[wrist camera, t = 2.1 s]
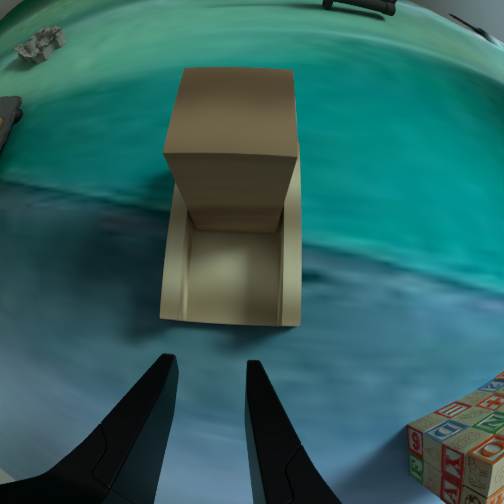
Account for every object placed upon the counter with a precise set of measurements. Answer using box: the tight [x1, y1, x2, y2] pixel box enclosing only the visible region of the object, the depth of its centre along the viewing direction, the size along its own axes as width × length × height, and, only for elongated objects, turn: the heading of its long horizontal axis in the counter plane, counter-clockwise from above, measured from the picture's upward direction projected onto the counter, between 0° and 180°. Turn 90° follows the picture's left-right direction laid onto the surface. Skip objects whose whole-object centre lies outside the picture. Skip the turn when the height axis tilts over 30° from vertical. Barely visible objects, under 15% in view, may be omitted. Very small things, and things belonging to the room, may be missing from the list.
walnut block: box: [163, 67, 298, 234], centre depth 19 cm, size 6×6×11 cm
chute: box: [160, 104, 301, 327], centre depth 24 cm, size 22×10×4 cm, turn 178°
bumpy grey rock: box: [13, 25, 66, 64], centre depth 31 cm, size 11×8×4 cm
